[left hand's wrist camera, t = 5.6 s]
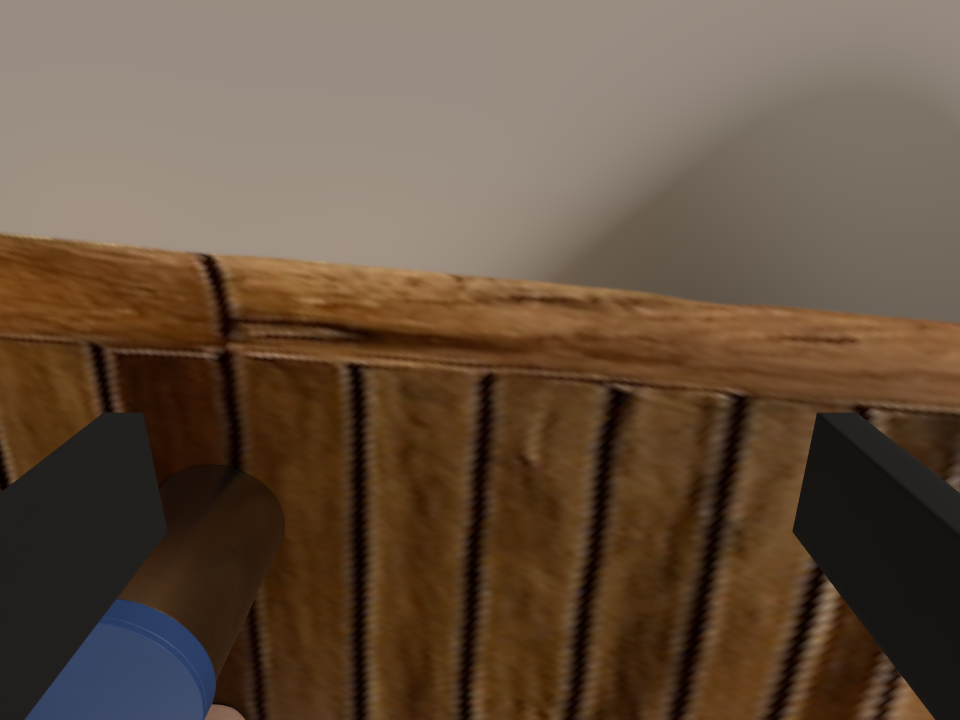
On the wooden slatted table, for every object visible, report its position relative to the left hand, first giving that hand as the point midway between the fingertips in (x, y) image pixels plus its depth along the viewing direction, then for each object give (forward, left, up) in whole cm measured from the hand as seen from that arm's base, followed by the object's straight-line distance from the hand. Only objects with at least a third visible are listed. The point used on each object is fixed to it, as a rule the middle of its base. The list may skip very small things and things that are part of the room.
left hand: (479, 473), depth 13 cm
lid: (-21, +19, -13) cm, 31 cm away
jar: (-21, +19, -28) cm, 40 cm away
